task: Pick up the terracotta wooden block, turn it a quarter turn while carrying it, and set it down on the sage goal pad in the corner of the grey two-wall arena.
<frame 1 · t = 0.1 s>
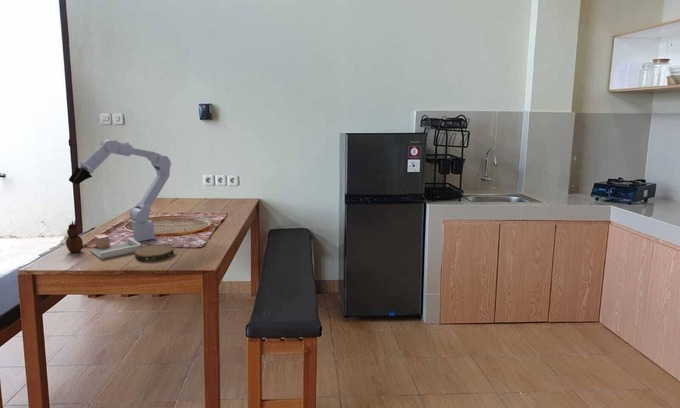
hand: (72, 182, 215), 32 cm above the table, tool tilted 50°, fingers open, 7 cm apart
wooden figurine: (75, 252, 220), on the table
arena: (116, 251, 220), on the table
wooden log slice: (154, 256, 213), on the table
terracotta block: (102, 246, 228), on the table
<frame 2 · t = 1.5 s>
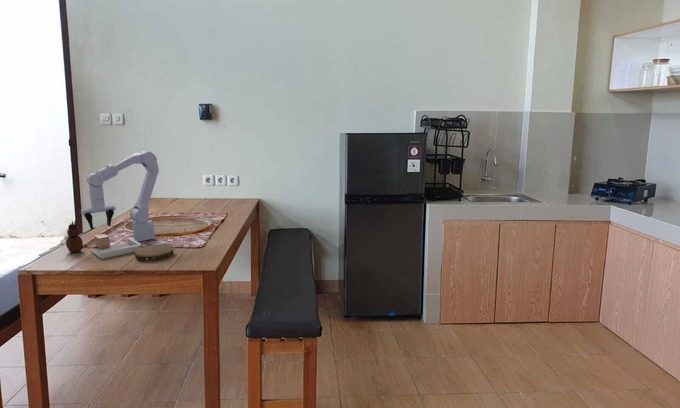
hand: (100, 227, 226), 9 cm above the table, tool pointing down, fingers open, 7 cm apart
nothing on the table moved.
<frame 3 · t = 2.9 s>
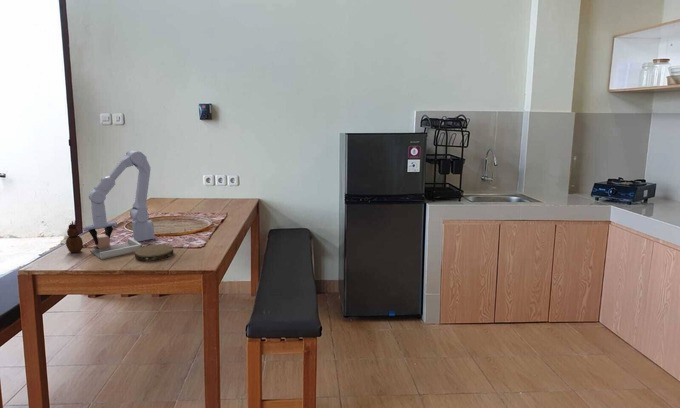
hand: (102, 243, 228), 1 cm above the table, tool pointing down, fingers closed on terracotta block, 4 cm apart
terracotta block: (102, 246, 228), on the table, touching gripper
everything else where it was.
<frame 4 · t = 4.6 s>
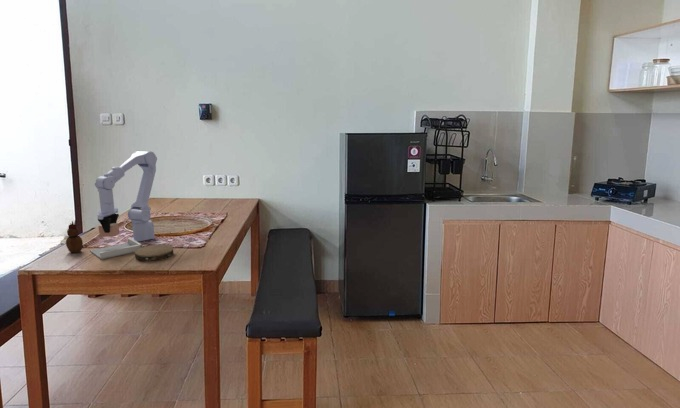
hand: (110, 231, 223), 8 cm above the table, tool pointing down, fingers closed on terracotta block, 4 cm apart
terracotta block: (109, 234, 223), point 6 cm above the table, touching gripper
everything else where it was.
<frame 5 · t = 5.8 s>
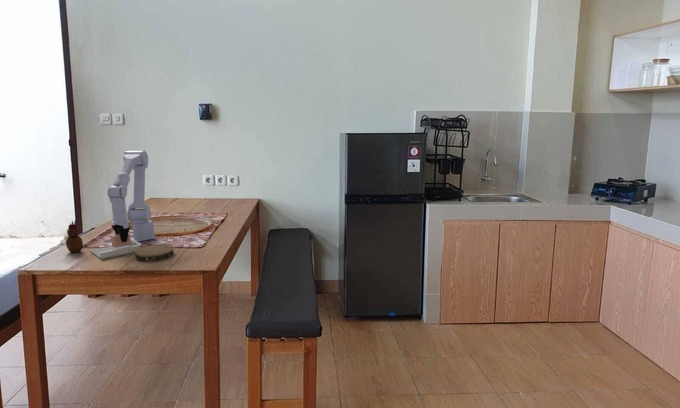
hand: (122, 240, 220), 5 cm above the table, tool pointing down, fingers closed on terracotta block, 5 cm apart
terracotta block: (121, 245, 220), point 3 cm above the table, touching gripper
everything else where it was.
when the fingers open (3 cm above the table, at t = 6.5 s): terracotta block stays where it is, resting on arena.
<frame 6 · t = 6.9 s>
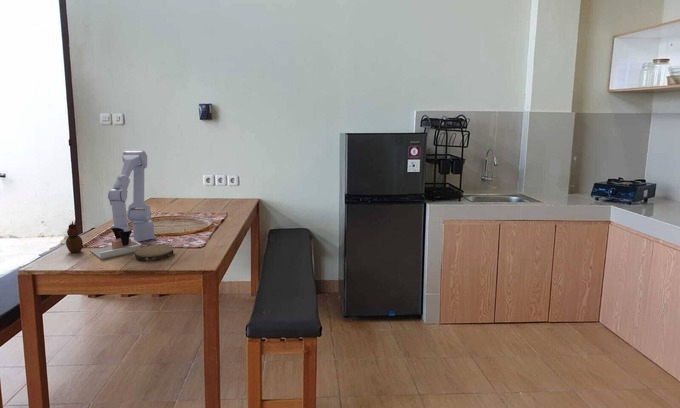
hand: (122, 243, 220), 3 cm above the table, tool pointing down, fingers open, 7 cm apart
terracotta block: (122, 249, 220), point 1 cm above the table, touching arena
everything else where it was.
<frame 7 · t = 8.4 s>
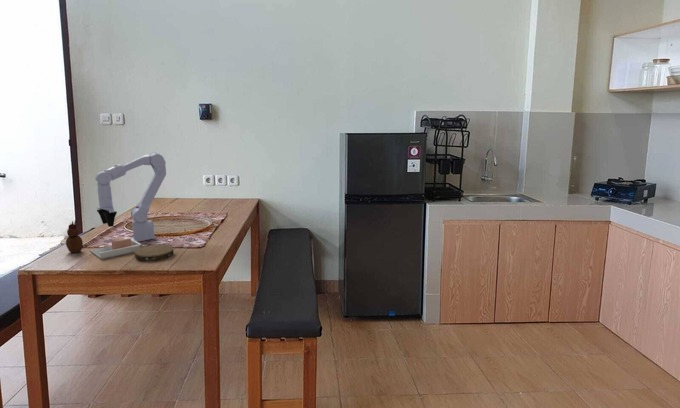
hand: (108, 224, 230), 9 cm above the table, tool pointing down, fingers open, 7 cm apart
nothing on the table moved.
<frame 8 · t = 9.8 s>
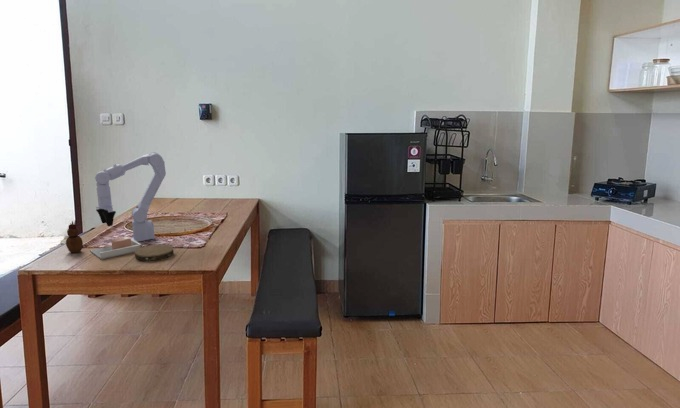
hand: (107, 224, 231), 9 cm above the table, tool pointing down, fingers open, 7 cm apart
nothing on the table moved.
at the end: terracotta block 0.5 cm from the target spot on the arena, point 0.6 cm above the arena's base; terracotta block tilted 0°; the gripper is holding nothing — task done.
